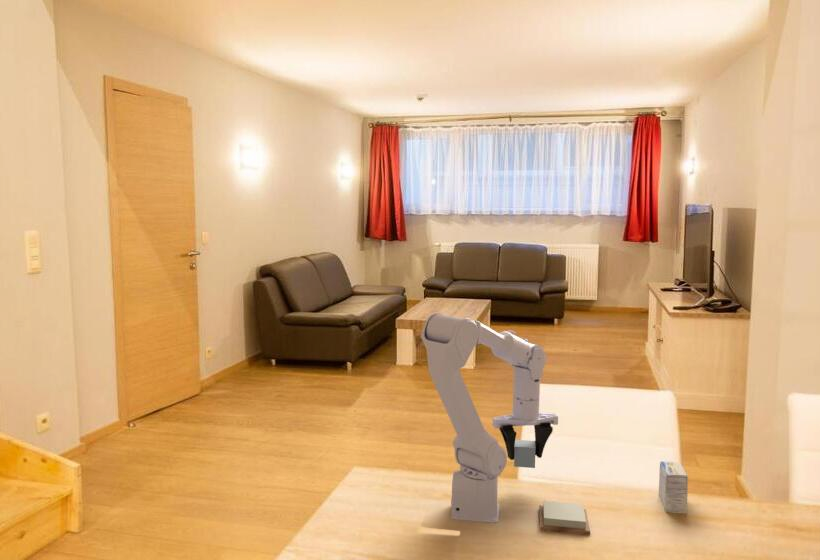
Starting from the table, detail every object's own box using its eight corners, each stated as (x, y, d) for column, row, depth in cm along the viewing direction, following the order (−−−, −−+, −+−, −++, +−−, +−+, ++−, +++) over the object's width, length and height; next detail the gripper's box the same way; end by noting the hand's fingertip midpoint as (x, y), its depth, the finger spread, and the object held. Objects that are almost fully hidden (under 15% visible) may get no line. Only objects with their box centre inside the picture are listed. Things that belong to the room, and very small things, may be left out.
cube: (514, 466, 145) (514, 446, 144) (514, 459, 149) (514, 439, 149) (534, 468, 144) (535, 448, 144) (534, 460, 149) (535, 440, 148)
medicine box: (687, 516, 136) (689, 476, 135) (664, 514, 137) (666, 474, 136) (679, 500, 144) (681, 461, 143) (657, 498, 145) (659, 460, 144)
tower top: (543, 525, 130) (543, 517, 130) (543, 507, 138) (543, 500, 138) (585, 529, 129) (585, 521, 129) (582, 510, 137) (583, 503, 137)
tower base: (539, 534, 130) (540, 526, 130) (539, 512, 139) (539, 505, 139) (589, 538, 128) (590, 531, 128) (585, 516, 138) (585, 509, 138)
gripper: (500, 404, 140) (499, 466, 141) (564, 400, 143) (562, 461, 144) (490, 395, 147) (488, 454, 148) (551, 391, 150) (549, 450, 151)
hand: (524, 457), depth 147 cm, fingers closed on cube, 6 cm apart
